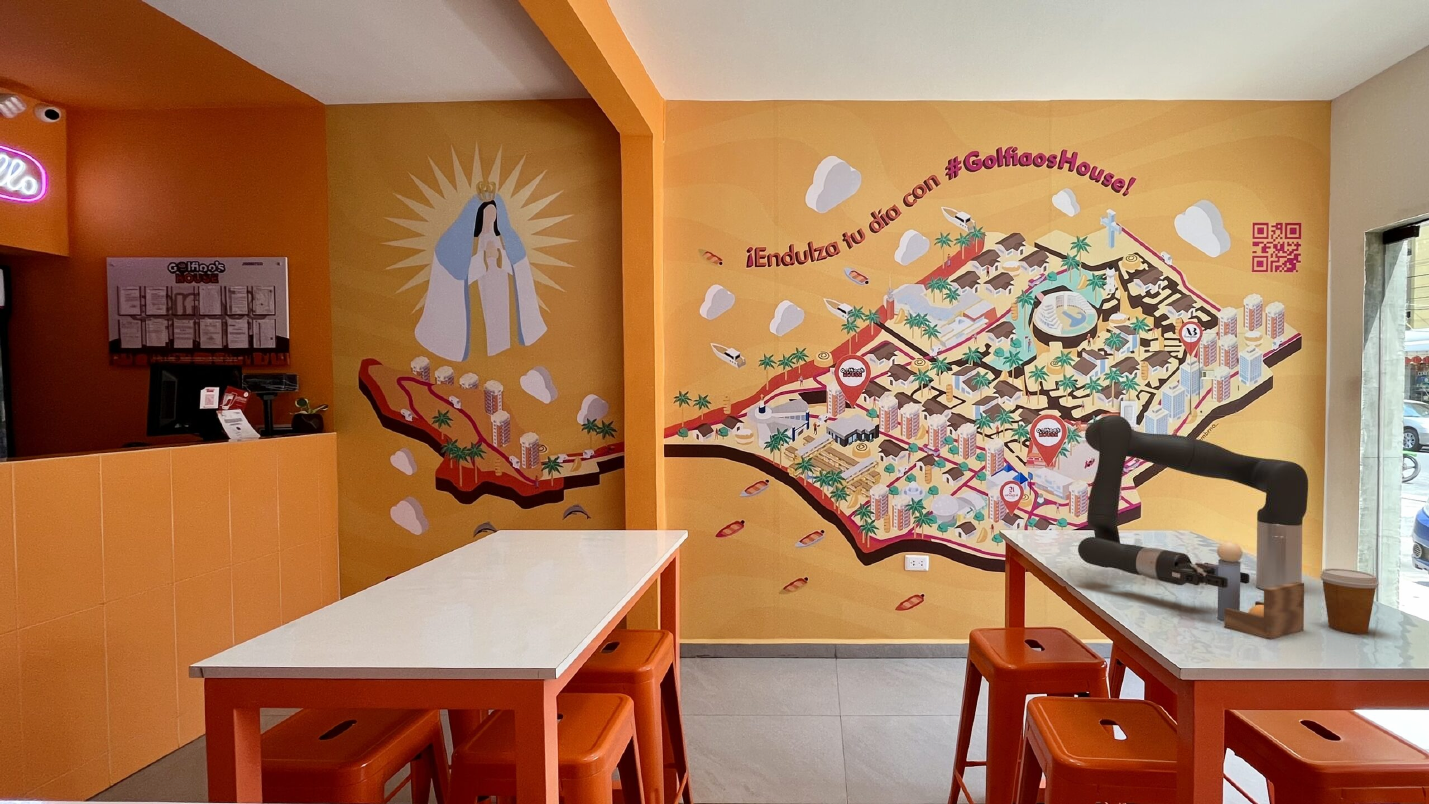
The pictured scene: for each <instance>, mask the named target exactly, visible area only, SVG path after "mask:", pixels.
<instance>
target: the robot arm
mask: <svg viewBox="0 0 1429 804" xmlns="http://www.w3.org/2000/svg"><path fill="white" fill-rule="evenodd" d="M1084 438H1085V442H1086V443H1087V444H1088V445H1089V446H1090V447H1091V448H1092V449H1093V450H1095V451H1096V452H1098V463H1097V469H1096V472H1095V476H1094V479H1093V481H1092V485H1091V487H1090V488H1091V489H1090V492H1089V496H1088V504H1087V505H1088V506H1087V515H1086V523H1087V525H1088V526H1089V527H1090V528H1091V529H1092V530H1093V531H1094V536H1089V537H1086V538H1084V539H1082V540H1081V541H1080V542H1079V544H1078V546H1077V552H1078V555H1079V556H1080V557H1079V558H1080V559H1082V561H1084V562H1085V563H1087V564H1089V565H1092V566H1098V567H1100V568H1101V567H1102V568H1108V569H1109V568H1110V569H1116V570H1120V571H1123V572H1126V573H1129V574H1132V575H1137V576H1140V577H1145V578H1148V579H1150V580H1154V581H1158V582H1162V583H1167V584H1171V585H1176V586H1185V584H1190V585H1194V586H1200V585H1202V586H1207V585H1209V586H1213V587H1217V588H1218V587H1222V588H1226V587H1227V586H1228V579H1227V578H1226V577H1221V576H1218V564H1214V563H1209V562H1204V563H1203V562H1195V563H1193V562H1192V561H1191V558H1190V556H1189V555H1188V554H1186V553H1184V552H1179V551H1173V550H1168V549H1162V548H1158V547H1157V548H1156V547H1146V546H1141V545H1135V544H1129V543H1128V544H1127V543H1121V539H1120V538H1121V537H1120V532H1119V528H1118V518H1119V506H1120V505H1119V504H1120V503H1119V502H1120V495H1121V494H1120V493H1121V486H1122V485H1121V484H1122V480H1123V474H1124V469H1125V465H1126V461H1127V457H1128V458H1133V459H1139V460H1140V461H1141V460H1142V461H1144V462H1148V463H1152V464H1155V465H1158V466H1160V467H1165V468H1168V469H1172V470H1175V471H1177V472H1183V473H1187V474H1190V475H1194V476H1197V477H1198V476H1200V477H1205V478H1211V479H1219V480H1226V481H1227V480H1228V481H1231V482H1235V483H1237V484H1241V485H1244V486H1247V487H1249V488H1253V489H1255V490H1258V491H1260V492H1262V493H1264V494H1265V501H1264V502H1265V504H1264V505H1263V507H1261V508H1260V509H1258V510H1257V514H1256V572H1255V573H1256V577H1255V578H1256V579H1255V582H1256V584H1255V586H1256V588H1258V589H1261V590H1264V589H1265V588H1270V587H1275V586H1280V585H1284V584H1289V583H1294V582H1302V580H1303V579H1302V578H1303V519H1304V517H1305V515H1306V513H1307V508H1308V496H1309V495H1308V494H1309V478H1308V474H1307V472H1306V470H1305V469H1304V468H1303V466H1302V465H1300V464H1298V463H1296V462H1293V461H1290V460H1289V461H1288V460H1284V459H1283V460H1282V459H1274V458H1262V457H1258V456H1250V455H1246V454H1245V455H1244V454H1240V453H1236V452H1233V451H1231V450H1228V449H1227V448H1225V447H1222V446H1220V445H1218V444H1214V443H1211V442H1209V441H1206V440H1203V439H1198V438H1194V437H1189V436H1185V435H1178V434H1166V433H1148V432H1143V431H1138V430H1134V429H1133V428H1132V425H1131V424H1130V422H1129V421H1128V420H1127V419H1126V418H1124V417H1123V416H1121V415H1117V414H1109V415H1105V416H1103V417H1100V418H1099V419H1097V420H1095V421H1093V422H1092V423H1090V424H1089V425H1088V426H1087V427H1086V429H1085V432H1084ZM1249 583H1250V574H1249V573H1247V572H1242V571H1240V584H1246V585H1247V584H1249ZM1302 583H1303V582H1302Z"/></svg>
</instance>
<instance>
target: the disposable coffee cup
mask: <svg viewBox="0 0 1429 804" xmlns="http://www.w3.org/2000/svg"><path fill="white" fill-rule="evenodd" d="M1319 577H1320V579H1321V581H1322V584H1323V585H1322V588H1323V595H1324V601H1325V608H1326V617H1327V623H1328V627H1329V628H1330V629H1333V630H1335V631H1338V632H1342V633H1347V632H1350V633H1349V634H1354V633H1356V635H1365V634H1368V633H1369V627H1370V622H1371V616H1372V611H1373V606H1374V599H1375V596H1376V591H1377V588H1378V586H1379V584H1380V582H1379V581H1378V579H1377V577H1376V575H1375V574H1373V573H1369V572H1365V571H1359V570H1355V569H1354V570H1353V569H1347V568H1346V569H1345V568H1335V567H1334V568H1332V567H1331V568H1323V569H1322V570H1321V574H1319Z"/></svg>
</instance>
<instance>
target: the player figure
mask: <svg viewBox="0 0 1429 804" xmlns="http://www.w3.org/2000/svg"><path fill="white" fill-rule="evenodd" d="M1216 553H1217V554H1216V555H1217V556H1218V558H1219V559H1218V560H1217V565H1218V576H1221V577H1226V578H1227V579H1228V586H1227V587H1226V588H1222V587H1217V617H1216V618H1217V620H1219V621H1222V622H1224V613H1225V608H1230V609H1234V610H1239V611H1241V610H1240V609H1241V583H1240V572H1241V566H1242V565H1241V564H1242V563H1241V562H1240V560H1241V559H1242V557H1243V550H1242V548H1241V546H1240V545H1239V544H1238V543H1236V542H1233V541H1223V542H1221V543H1220V544H1219V545H1218V546H1217V548H1216Z"/></svg>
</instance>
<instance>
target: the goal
mask: <svg viewBox="0 0 1429 804" xmlns="http://www.w3.org/2000/svg"><path fill="white" fill-rule="evenodd" d="M1256 605H1264V616H1259V615H1255V614H1251V613H1248V612H1246V611H1242V610H1240V611H1239V610H1234V609H1230V608H1225V613H1224V621H1223V622H1224V625H1223V626H1224V627H1223V628H1226V629H1230V630H1233V631H1237V632H1241V633H1244V634H1248V635H1251V636H1256V637H1260V638H1263V639H1268V640H1272V639H1276V638H1280V637H1283V636H1288V635H1291V634H1294V633H1299V632H1303V631H1304V629H1305V628H1304V622H1305V619H1304V618H1305V614H1304V613H1305V582H1294V583H1289V584H1284V585H1280V586H1275V587H1270V588H1265V589H1263V601H1261V600H1258V601H1255V602H1254V606H1256Z"/></svg>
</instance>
